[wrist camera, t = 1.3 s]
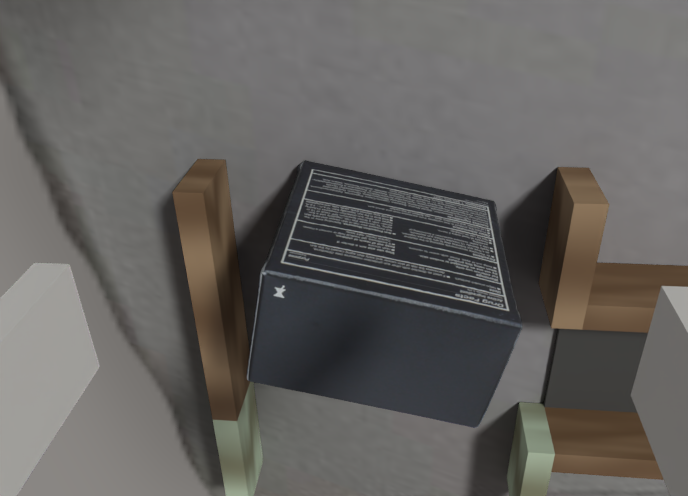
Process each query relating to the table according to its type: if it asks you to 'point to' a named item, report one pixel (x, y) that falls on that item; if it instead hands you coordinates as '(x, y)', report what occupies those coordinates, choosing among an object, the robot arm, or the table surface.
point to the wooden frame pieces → (532, 418)
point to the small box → (385, 297)
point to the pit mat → (594, 370)
